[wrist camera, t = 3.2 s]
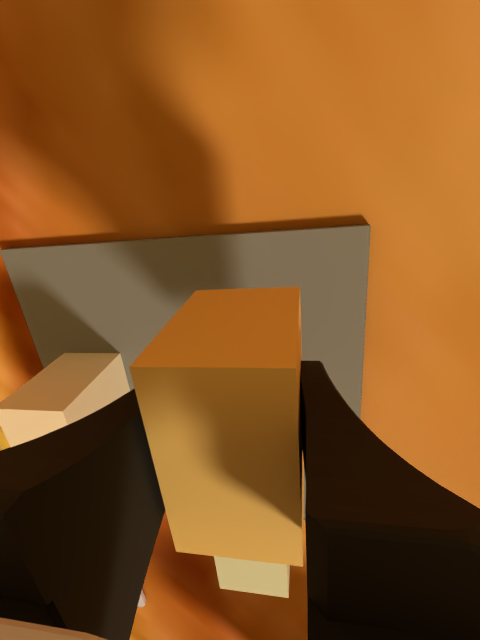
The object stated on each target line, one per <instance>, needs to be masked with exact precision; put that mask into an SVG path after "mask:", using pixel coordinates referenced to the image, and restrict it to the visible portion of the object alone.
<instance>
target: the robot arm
mask: <svg viewBox="0 0 480 640" xmlns="http://www.w3.org/2000/svg"><path fill="white" fill-rule="evenodd" d="M300 386H301V419H302V450H303V460H304V470H305V480H306V504H305V520H306V555H307V591H308V640H480V509H479V508H478V507H476V506H474V505H473V504H471V503H469V502H468V501H466V500H464V499H462V498H461V497H459V496H457V495H456V494H454V493H452V492H451V491H449V490H447V489H446V488H444V487H442V486H441V485H439V484H438V483H436V482H435V481H433V480H432V479H430V478H429V477H427V476H426V475H424V474H423V473H422V472H420V471H419V470H417V469H416V468H414V467H413V466H412V465H410V464H409V463H408V462H406V461H405V460H404V459H403V458H401V457H400V456H399V455H398V454H396V453H395V452H394V451H393V450H392V449H390V448H389V447H388V446H387V445H386V444H384V443H383V442H382V441H381V440H380V439H379V438H378V437H377V436H376V435H375V434H374V433H373V432H372V431H371V430H370V429H369V428H368V427H367V426H366V425H365V424H364V423H363V422H362V421H361V420H360V418H359V417H358V416H357V415H356V414H355V413H354V411H353V410H352V409H351V408H350V407H349V405H348V404H347V403H346V401H345V400H344V399H343V397H342V396H341V394H340V393H339V392H338V390H337V389H336V387H335V386H334V384H333V383H332V381H331V379H330V377H329V376H328V374H327V372H326V370H325V368H324V365H323V363H322V362H320V361H301V368H300ZM164 512H165V506H164V502H163V498H162V494H161V490H160V486H159V482H158V479H157V475H156V471H155V467H154V463H153V459H152V455H151V451H150V447H149V443H148V439H147V435H146V431H145V427H144V424H143V420H142V416H141V412H140V408H139V404H138V400H137V396H136V392H135V388H134V389H133V390H131V391H129V392H128V393H126V394H124V395H123V396H121V397H120V398H118V399H116V400H115V401H113V402H111V403H110V404H108V405H106V406H105V407H103V408H101V409H99V410H97V411H95V412H94V413H92V414H90V415H88V416H86V417H84V418H82V419H80V420H78V421H75V422H73V423H71V424H69V425H66V426H64V427H62V428H59V429H57V430H55V431H52V432H50V433H48V434H45V435H43V436H41V437H38V438H35V439H33V440H30V441H27V442H25V443H22V444H19V445H16V446H13V447H10V448H7V449H4V450H2V451H0V640H129V639H130V634H131V630H132V626H133V622H134V618H135V614H136V610H137V607H143V606H144V605H145V602H146V599H145V596H144V593H143V590H142V587H143V583H144V580H145V576H146V572H147V569H148V565H149V562H150V558H151V555H152V551H153V548H154V545H155V541H156V538H157V535H158V531H159V528H160V525H161V522H162V519H163V515H164Z"/></svg>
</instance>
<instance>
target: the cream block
mask: <svg viewBox="0 0 480 640" xmlns="http://www.w3.org/2000/svg"><path fill="white" fill-rule="evenodd" d="M129 391H130V388H129V385H128V381H127V377H126V373H125V369H124V366H123V362H122V358H121V354H120V353H64V354H62V355H61V356H60V357H58V358H57V359H56V360H55V361H53V362H52V363H51V364H49V365H48V366H47V367H46V368H44V369H43V370H42V371H40V372H39V373H38V374H37V375H35V376H34V377H33V378H31V379H30V380H29V381H28V382H26V383H25V384H24V385H23V386H21V387H20V388H19V389H17V390H16V391H15V392H14V393H12V394H11V395H10V396H8V397H7V398H6V399H5V400H3V401H2V402H1V403H0V425H1V427H2V430H3V432H4V434H5V436H6V438H7V440H8V443H9V445H10V447H13V446H16V445H19V444H22V443H25V442H27V441H30V440H33V439H35V438H38V437H41V436H43V435H45V434H48V433H50V432H52V431H55V430H57V429H59V428H62V427H64V426H66V425H69V424H71V423H73V422H75V421H78V420H80V419H82V418H84V417H86V416H88V415H90V414H92V413H94V412H95V411H97V410H99V409H101V408H103V407H105V406H106V405H108V404H110V403H111V402H113V401H115V400H116V399H118V398H120V397H121V396H123V395H124V394H126V393H128V392H129Z"/></svg>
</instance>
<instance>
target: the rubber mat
mask: <svg viewBox="0 0 480 640" xmlns="http://www.w3.org/2000/svg"><path fill="white" fill-rule="evenodd" d="M369 245H370V225H369V224H363V225H348V226H333V227H318V228H303V229H288V230H273V231H258V232H243V233H228V234H213V235H198V236H183V237H168V238H153V239H138V240H123V241H108V242H93V243H78V244H64V245H49V246H34V247H19V248H5V249H2V250H0V253H1V255H2V258H3V261H4V263H5V266H6V269H7V272H8V274H9V277H10V280H11V282H12V285H13V288H14V290H15V293H16V296H17V299H18V301H19V304H20V307H21V309H22V312H23V315H24V317H25V320H26V323H27V326H28V328H29V331H30V334H31V336H32V339H33V342H34V345H35V347H36V350H37V353H38V355H39V358H40V361H41V363H42V366H43V369H44V368H46V367H47V366H48V365H49V364H51V363H52V362H53V361H55V360H56V359H57V358H58V357H60V356H61V355H62V354H64V353H120V354H121V358H122V362H123V366H124V369H125V373H126V377H127V381H128V385H129V388H130V391H131V390H133V389H134V384H133V380H132V376H131V372H130V368H129V366H130V365H131V364H132V363H133V362H134V361H135V360H136V358H137V357H138V356H139V355H140V354H141V353H142V352H143V350H144V349H145V348H146V347H147V346H148V345H149V344H150V342H151V341H152V340H153V339H154V338H155V337H156V336H157V334H158V333H159V332H160V331H161V330H162V329H163V328H164V326H165V325H166V324H167V323H168V322H169V321H170V320H171V318H172V317H173V316H174V315H175V314H176V313H177V312H178V310H179V309H180V308H181V307H182V306H183V305H184V304H185V302H186V301H187V300H188V299H189V298H190V297H191V296H192V294H193V293H194V292H195V291H196V290H219V289H246V288H274V287H300V307H301V343H302V361H320V362H322V363H323V365H324V368H325V370H326V372H327V374H328V376H329V377H330V379H331V381H332V383H333V384H334V386H335V387H336V389H337V390H338V392H339V393H340V394H341V396H342V397H343V399H344V400H345V401H346V403H347V404H348V405H349V407H350V408H351V409H352V410H353V411H354V413H355V414H356V415H357V416H358V417H359V418H360V413H361V394H362V376H363V357H364V338H365V320H366V301H367V282H368V264H369ZM305 504H306V480H305V470H304V509H303V520H305Z"/></svg>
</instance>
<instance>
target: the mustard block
mask: <svg viewBox="0 0 480 640" xmlns="http://www.w3.org/2000/svg"><path fill="white" fill-rule="evenodd" d="M301 361H302V343H301V307H300V287H274V288H246V289H219V290H196V291H195V292H194V293H193V294H192V296H191V297H190V298H189V299H188V300H187V301H186V302H185V304H184V305H183V306H182V307H181V308H180V309H179V310H178V312H177V313H176V314H175V315H174V316H173V317H172V318H171V320H170V321H169V322H168V323H167V324H166V325H165V326H164V328H163V329H162V330H161V331H160V332H159V333H158V334H157V336H156V337H155V338H154V339H153V340H152V341H151V342H150V344H149V345H148V346H147V347H146V348H145V349H144V350H143V352H142V353H141V354H140V355H139V356H138V357H137V358H136V360H135V361H134V362H133V363H132V364H131V365H130V366H129V368H130V372H131V376H132V380H133V384H134V388H135V392H136V396H137V400H138V404H139V408H140V412H141V416H142V420H143V424H144V427H145V431H146V435H147V439H148V443H149V447H150V451H151V455H152V459H153V463H154V467H155V471H156V475H157V479H158V482H159V486H160V490H161V494H162V498H163V502H164V506H165V510H166V514H167V518H168V522H169V526H170V530H171V534H172V538H173V541H174V545H175V549H176V552H183V553H192V554H200V555H208V556H217V557H225V558H234V559H242V560H251V561H259V562H267V563H276V564H284V565H293V566H301V567H303V509H304V460H303V450H302V419H301V386H300V368H301Z"/></svg>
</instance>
